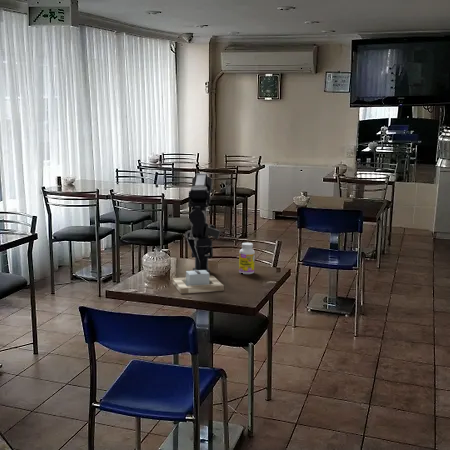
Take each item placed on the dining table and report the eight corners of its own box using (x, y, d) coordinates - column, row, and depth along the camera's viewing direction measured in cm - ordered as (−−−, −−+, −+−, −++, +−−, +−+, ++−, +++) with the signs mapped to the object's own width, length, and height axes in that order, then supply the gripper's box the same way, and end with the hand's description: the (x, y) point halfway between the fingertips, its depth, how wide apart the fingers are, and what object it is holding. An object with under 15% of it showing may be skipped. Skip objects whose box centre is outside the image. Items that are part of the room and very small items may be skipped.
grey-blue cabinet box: (185, 285, 241) (185, 270, 240) (205, 284, 244) (205, 268, 242) (189, 289, 236) (189, 273, 234) (209, 288, 238) (209, 272, 237)
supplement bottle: (237, 274, 260) (237, 244, 257) (240, 270, 266) (241, 241, 264) (252, 275, 258) (253, 245, 256) (255, 271, 264) (256, 242, 262)
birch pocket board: (172, 283, 244) (172, 278, 244) (212, 280, 249) (213, 275, 249) (180, 293, 230) (180, 288, 230) (223, 290, 235) (223, 285, 234)
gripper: (225, 223, 229) (224, 264, 231) (212, 215, 246) (211, 253, 249) (196, 224, 225) (196, 265, 228) (185, 216, 243) (185, 254, 246)
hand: (198, 259), depth 238 cm, fingers open, 9 cm apart
